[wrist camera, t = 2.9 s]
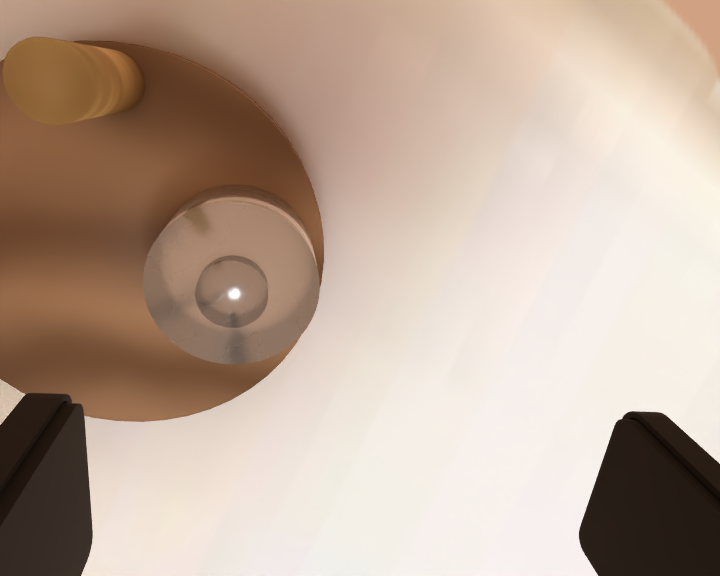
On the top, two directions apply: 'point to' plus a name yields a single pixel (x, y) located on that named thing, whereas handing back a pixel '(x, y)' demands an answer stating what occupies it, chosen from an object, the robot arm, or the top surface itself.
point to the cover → (232, 276)
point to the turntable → (118, 218)
